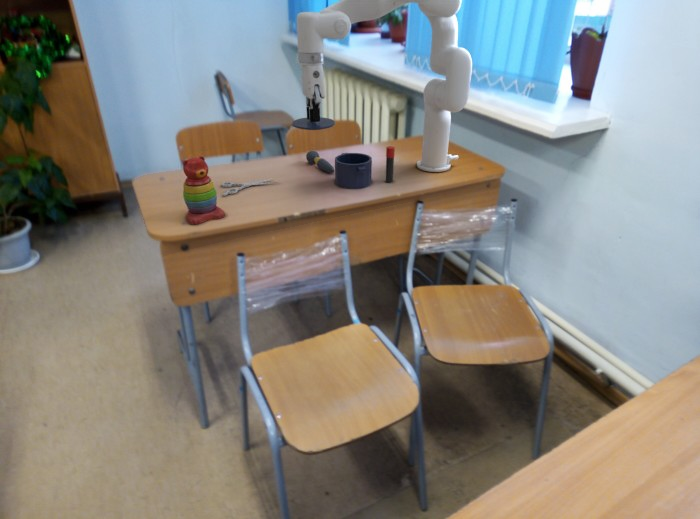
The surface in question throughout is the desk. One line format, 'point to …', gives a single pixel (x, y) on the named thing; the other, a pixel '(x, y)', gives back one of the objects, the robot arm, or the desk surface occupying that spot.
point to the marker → (389, 163)
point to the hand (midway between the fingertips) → (313, 119)
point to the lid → (313, 123)
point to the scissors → (243, 185)
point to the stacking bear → (199, 192)
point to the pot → (353, 170)
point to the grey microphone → (319, 161)
